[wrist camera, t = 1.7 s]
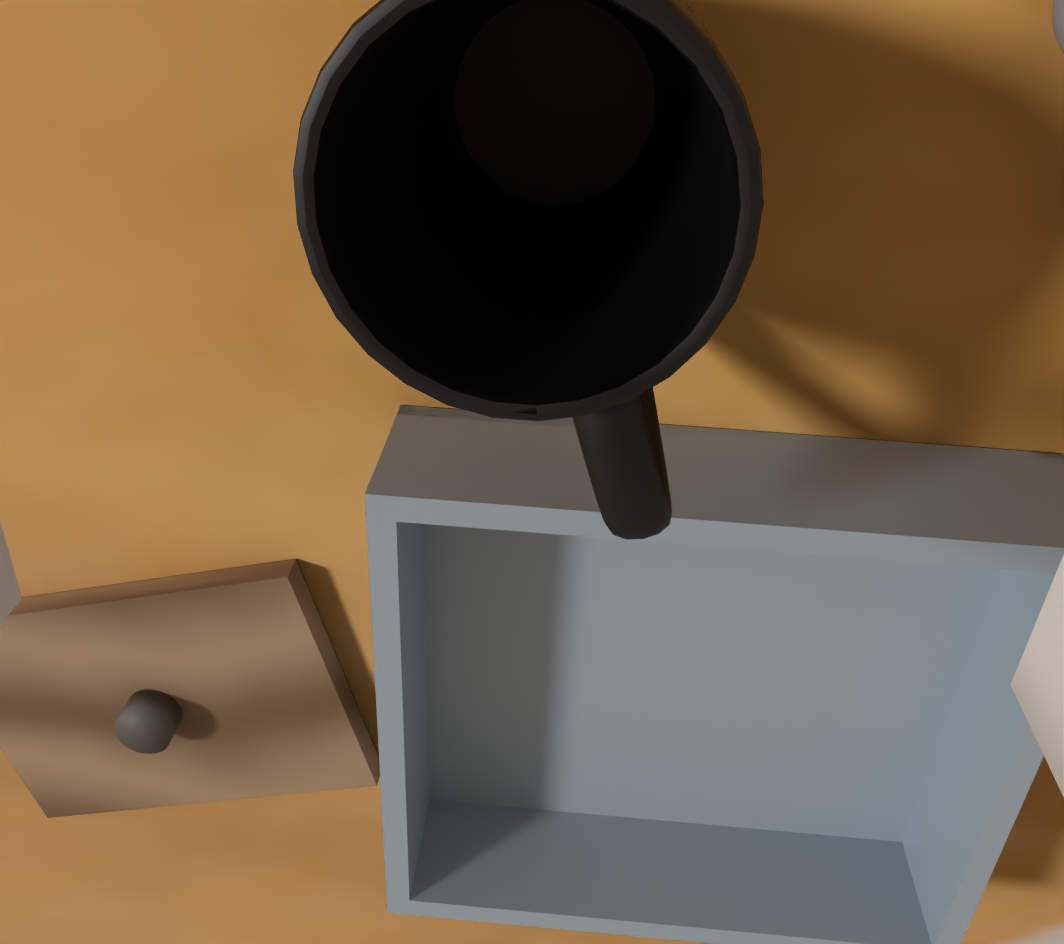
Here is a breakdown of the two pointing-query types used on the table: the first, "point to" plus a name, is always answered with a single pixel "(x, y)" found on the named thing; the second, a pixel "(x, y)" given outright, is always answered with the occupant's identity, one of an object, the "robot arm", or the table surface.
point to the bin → (703, 681)
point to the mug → (534, 212)
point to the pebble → (1058, 21)
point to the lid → (178, 694)
